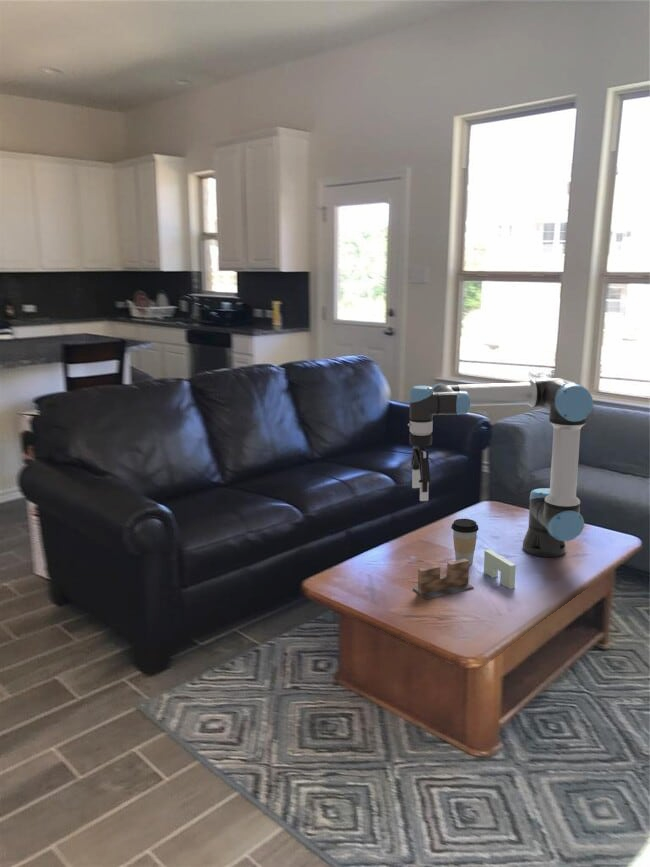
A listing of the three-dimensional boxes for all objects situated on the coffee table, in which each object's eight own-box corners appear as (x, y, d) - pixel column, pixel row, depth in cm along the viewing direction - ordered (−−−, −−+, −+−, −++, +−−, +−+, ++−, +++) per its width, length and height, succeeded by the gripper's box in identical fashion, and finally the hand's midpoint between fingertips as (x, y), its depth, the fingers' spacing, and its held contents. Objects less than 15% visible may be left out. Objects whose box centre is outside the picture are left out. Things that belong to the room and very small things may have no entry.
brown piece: (459, 578, 234) (460, 555, 232) (473, 588, 227) (474, 564, 225) (413, 589, 227) (413, 565, 225) (426, 599, 220) (426, 574, 218)
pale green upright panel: (483, 572, 239) (484, 550, 237) (488, 571, 239) (489, 549, 237) (509, 588, 226) (510, 565, 224) (514, 587, 227) (515, 564, 225)
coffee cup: (477, 568, 241) (478, 528, 238) (450, 566, 243) (451, 526, 240) (477, 557, 250) (478, 518, 247) (450, 555, 252) (451, 517, 249)
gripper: (403, 424, 241) (402, 483, 246) (416, 442, 217) (415, 506, 222) (424, 424, 241) (423, 482, 246) (440, 441, 217) (439, 505, 222)
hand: (420, 494), depth 234 cm, fingers open, 13 cm apart
